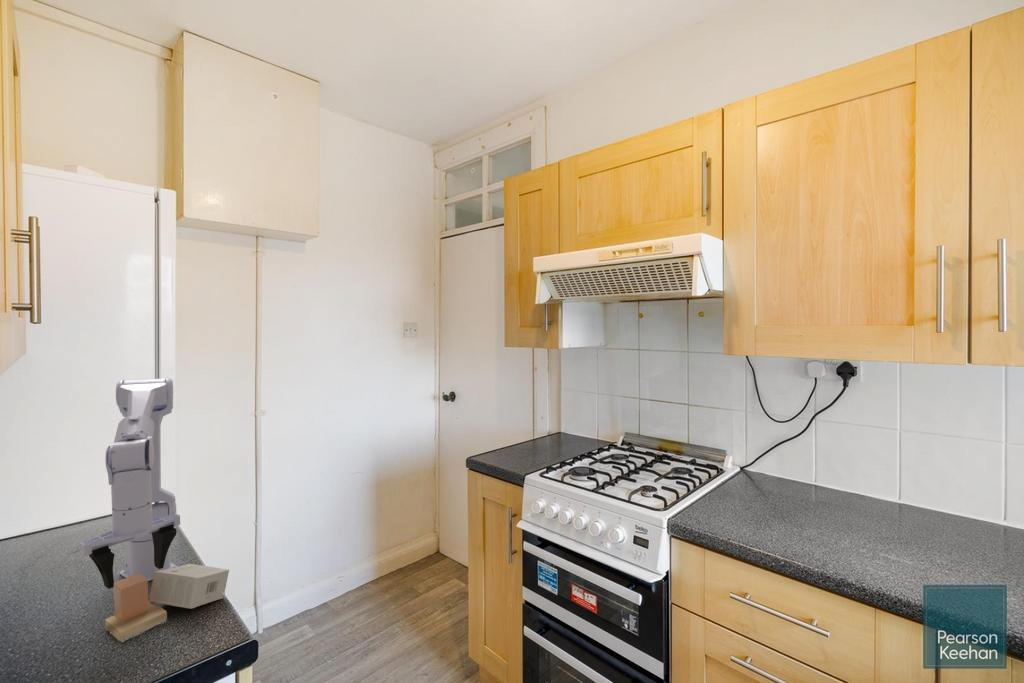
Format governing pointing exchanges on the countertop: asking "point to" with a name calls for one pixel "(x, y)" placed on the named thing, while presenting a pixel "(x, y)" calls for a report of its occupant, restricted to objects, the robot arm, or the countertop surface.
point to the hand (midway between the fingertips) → (135, 576)
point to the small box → (188, 585)
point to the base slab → (136, 622)
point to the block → (130, 597)
